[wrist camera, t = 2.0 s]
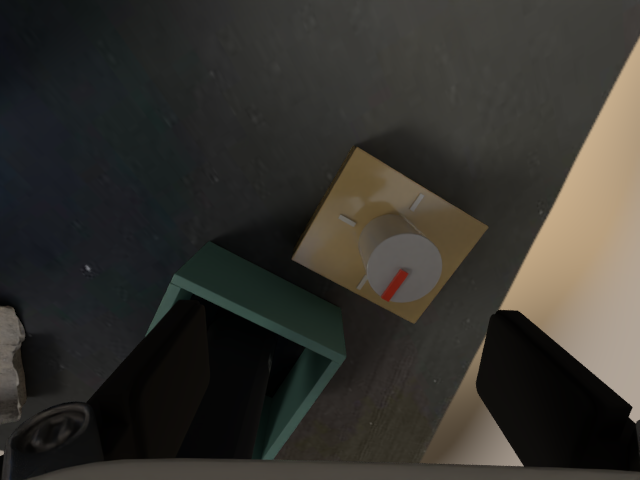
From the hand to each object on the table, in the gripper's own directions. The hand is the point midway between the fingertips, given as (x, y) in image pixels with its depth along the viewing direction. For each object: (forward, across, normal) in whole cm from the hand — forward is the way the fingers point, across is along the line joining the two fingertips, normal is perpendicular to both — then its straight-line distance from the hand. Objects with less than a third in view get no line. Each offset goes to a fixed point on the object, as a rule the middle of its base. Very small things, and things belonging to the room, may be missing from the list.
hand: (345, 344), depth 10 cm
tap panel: (+18, -5, +1) cm, 19 cm away
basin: (+18, +8, +12) cm, 23 cm away
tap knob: (+15, -5, +1) cm, 16 cm away
